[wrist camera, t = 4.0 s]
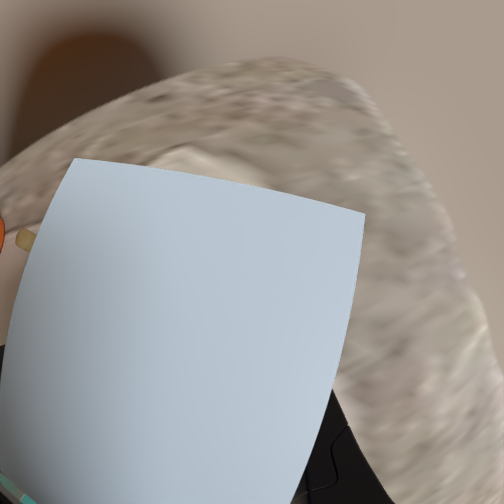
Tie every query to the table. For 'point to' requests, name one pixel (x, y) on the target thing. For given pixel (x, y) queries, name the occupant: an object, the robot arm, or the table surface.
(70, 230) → the pale blue upright block
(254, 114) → the table surface
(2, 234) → the paper cup
